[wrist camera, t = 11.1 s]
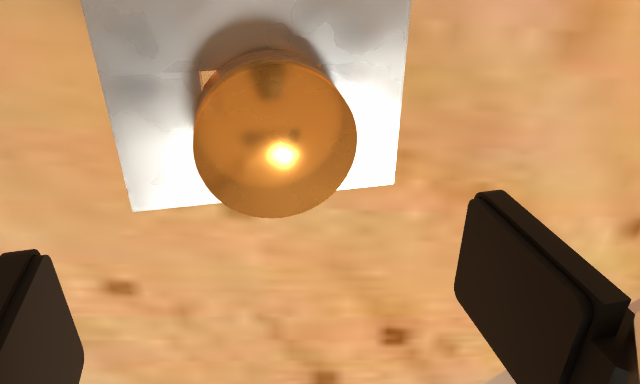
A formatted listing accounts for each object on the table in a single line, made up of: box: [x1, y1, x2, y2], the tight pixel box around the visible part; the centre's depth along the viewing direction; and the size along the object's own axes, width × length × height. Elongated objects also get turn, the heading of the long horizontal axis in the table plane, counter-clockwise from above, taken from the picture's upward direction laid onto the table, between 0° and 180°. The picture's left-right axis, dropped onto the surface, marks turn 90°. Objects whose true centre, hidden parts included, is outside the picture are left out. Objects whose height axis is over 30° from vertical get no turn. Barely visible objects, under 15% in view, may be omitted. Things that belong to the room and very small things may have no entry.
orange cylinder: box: [193, 50, 358, 218], centre depth 19 cm, size 5×5×10 cm
